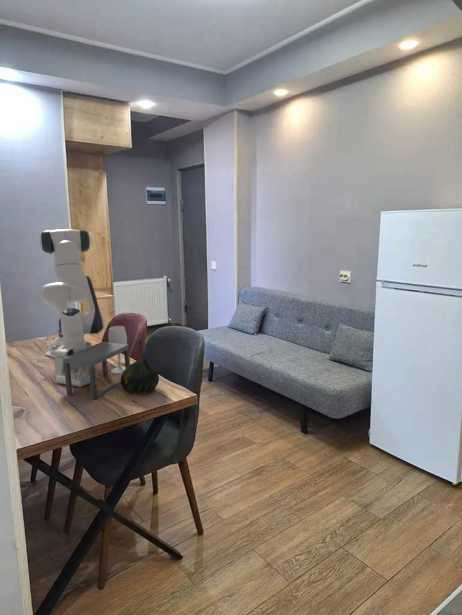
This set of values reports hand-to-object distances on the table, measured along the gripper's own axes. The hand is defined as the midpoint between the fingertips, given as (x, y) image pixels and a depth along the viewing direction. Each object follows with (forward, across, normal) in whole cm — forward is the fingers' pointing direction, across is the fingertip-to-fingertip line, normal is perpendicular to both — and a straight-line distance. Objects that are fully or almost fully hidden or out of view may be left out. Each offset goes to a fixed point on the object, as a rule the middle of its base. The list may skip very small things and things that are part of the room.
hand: (77, 377), depth 182 cm
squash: (+3, -2, +31) cm, 31 cm away
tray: (+3, 0, -2) cm, 4 cm away
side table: (+3, 0, +12) cm, 12 cm away
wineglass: (+3, -19, +8) cm, 21 cm away
